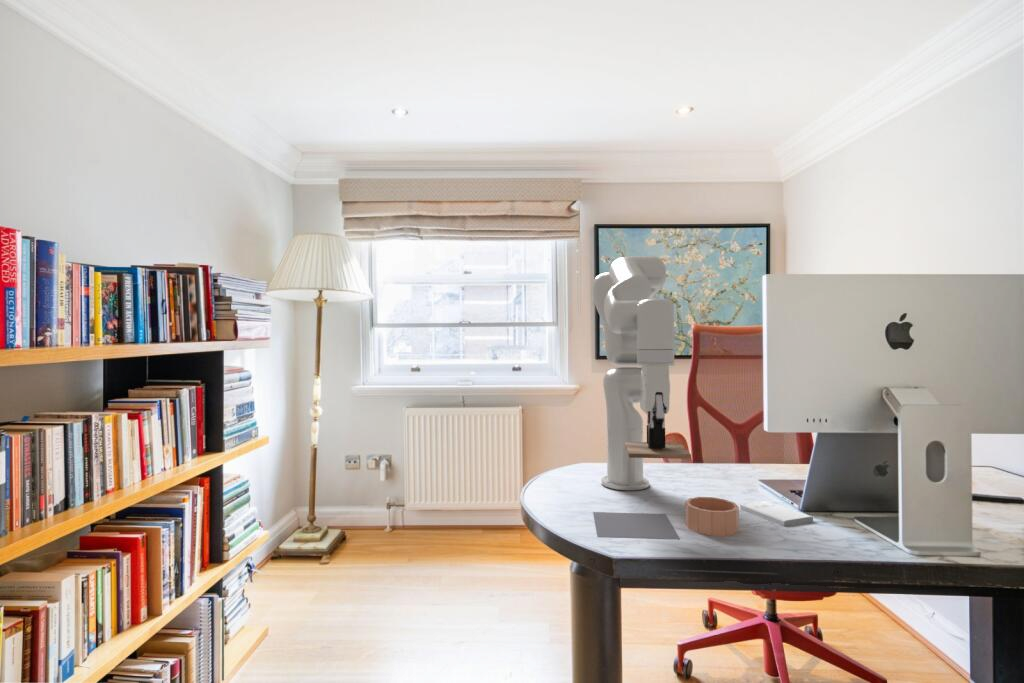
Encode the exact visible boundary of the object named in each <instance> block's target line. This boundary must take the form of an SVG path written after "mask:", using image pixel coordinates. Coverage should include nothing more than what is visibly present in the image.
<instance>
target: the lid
mask: <svg viewBox="0 0 1024 683" xmlns="http://www.w3.org/2000/svg"><path fill="white" fill-rule="evenodd" d="M647 425H648V443H647V441H646V442H645V441H643V442H624V446H625V449H626V451H627V453H628V456H629V458H643V459H673V460H675V459H678V460H679V459H680V460H681V459H683V460H684V459H685V460H692V453H690V452H689V451H688V449H686V448H685V446H683V444H682V443H680V442H665V448H650V447H649V428H651V427H650V423H649V424H647Z"/></svg>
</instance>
